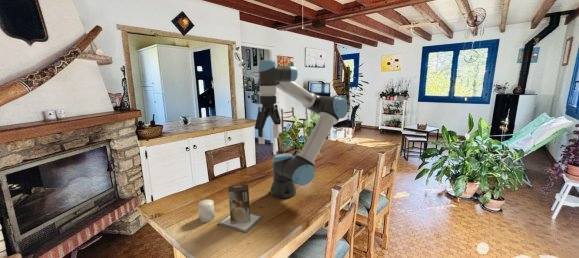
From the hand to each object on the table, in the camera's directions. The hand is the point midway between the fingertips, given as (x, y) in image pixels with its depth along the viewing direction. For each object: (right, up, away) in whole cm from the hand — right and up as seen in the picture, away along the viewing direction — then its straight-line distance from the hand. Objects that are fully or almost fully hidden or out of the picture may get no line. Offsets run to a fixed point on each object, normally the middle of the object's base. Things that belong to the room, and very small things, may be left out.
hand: (269, 140), depth 117 cm
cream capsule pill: (-30, -37, +1) cm, 48 cm away
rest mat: (-13, -38, -1) cm, 40 cm away
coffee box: (-13, -37, -1) cm, 40 cm away
